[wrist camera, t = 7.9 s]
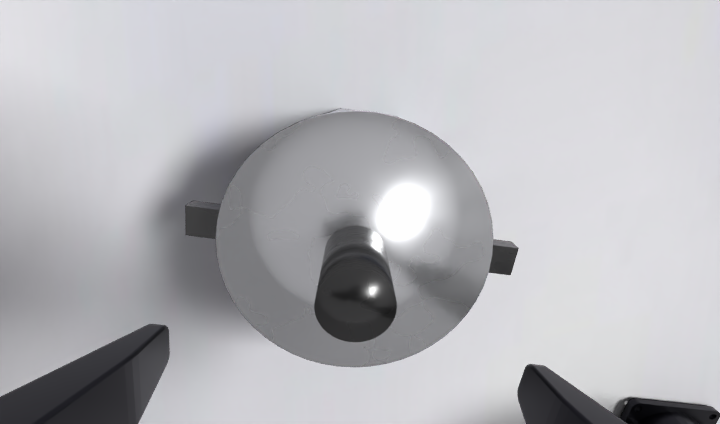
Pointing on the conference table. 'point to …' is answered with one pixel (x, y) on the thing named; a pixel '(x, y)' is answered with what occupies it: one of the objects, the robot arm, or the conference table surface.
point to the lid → (354, 239)
